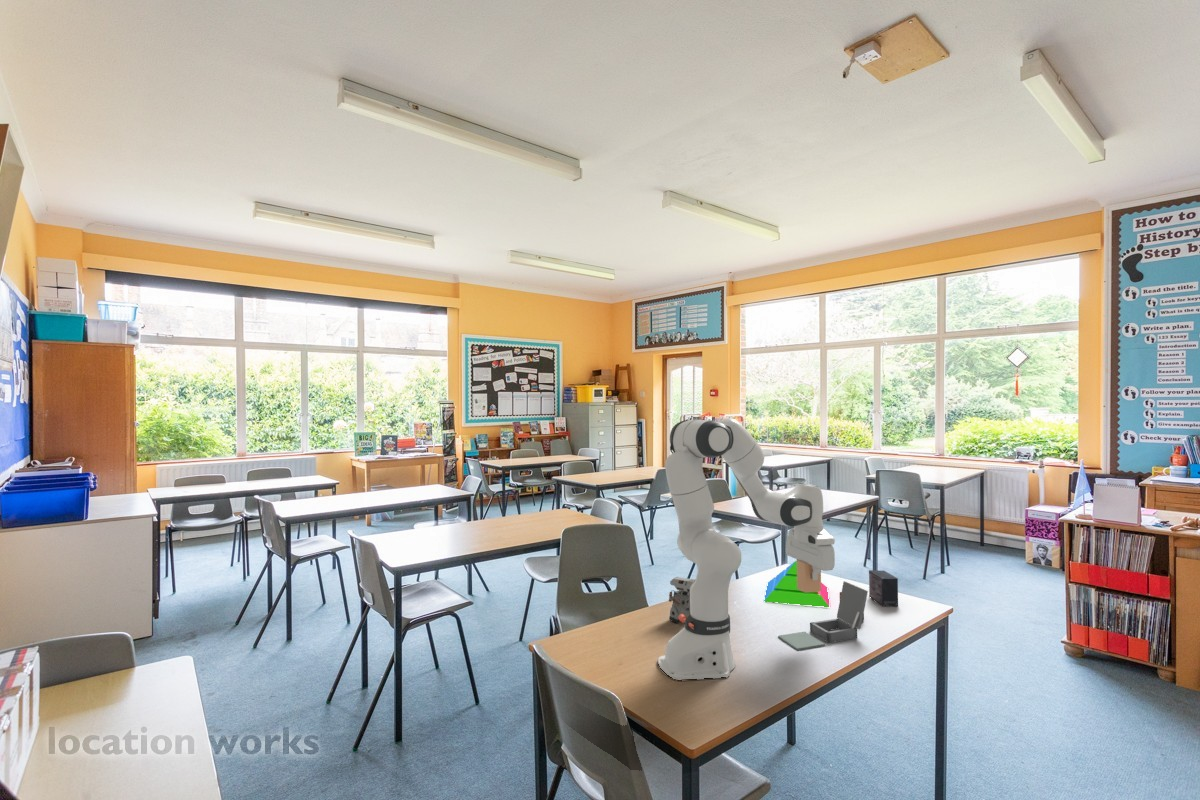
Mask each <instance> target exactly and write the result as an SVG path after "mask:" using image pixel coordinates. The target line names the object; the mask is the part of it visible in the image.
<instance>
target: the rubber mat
mask: <svg viewBox="0 0 1200 800" xmlns="http://www.w3.org/2000/svg"><path fill="white" fill-rule="evenodd" d="M777 637H778V639H779V640H781V641H783V642H784V643H786V644H787V645H789V646H791V648H793V649H794V650H796V651H802V650H808V649H813V648H814V649H815V648H821V647H825V646H826V644H825V643H824V642H823V641H821V640H820V639H818V638H816V637H815V636H813V635H811V634H809V633H808V632H807V631H800V632H793V633H788V634H787V633H786V634H781V635H780V634H779V635H778V636H777Z"/></svg>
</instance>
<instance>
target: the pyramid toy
mask: <svg viewBox="0 0 1200 800" xmlns="http://www.w3.org/2000/svg"><path fill="white" fill-rule="evenodd" d="M767 583H768V586H767V585H766V587H767V590H766V589H765V592H766V595H765V594H764V597H765V600H764V599H763V602H764V601H765V602H764V603H767V602H778V603H787V604H788V603H789V604H800V605H812V606H824V607H829V599H830V598H829V599H828V592H827V588H828V587H827V586H826V585H825V584H824V583H823V582H822V581H821V591H816V592H806V593H805V592H803V591H801V590H799V589H797V560H794V561H793V562H792V563H791V564H789V565H788V566H787V567H786V568H785V569H783V570H782V571H780V573H778V574H777V575H776V576H775V577H773V578H771V580H768V582H767ZM787 604H786V605H787Z"/></svg>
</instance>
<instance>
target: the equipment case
mask: <svg viewBox="0 0 1200 800" xmlns="http://www.w3.org/2000/svg"><path fill="white" fill-rule="evenodd" d="M840 592H841V598H840V597H839V603H838V609H837V613H836V618H831V619H825V620H819V621H811V622H809V632H810V633H812V634H813V635H815V636H816V637H818V638H820V639H822V640H824V642H826V641H827V643H835V642H834V641H837V642H841V640H843V641H847V640H848V639H849V640H853V639H858V630H859V631H860V630H861V629H862V624H863V620H862V619H863V614H864V615H865V609H866V602H867V598H868V593H869V590H867V589H865V588H862V587H860V586H857V585H855V584H852V583H850V582H847V581H844V580H843V583H842V588H841V591H840ZM831 629H834V630H831ZM827 630H828V631H827Z"/></svg>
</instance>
